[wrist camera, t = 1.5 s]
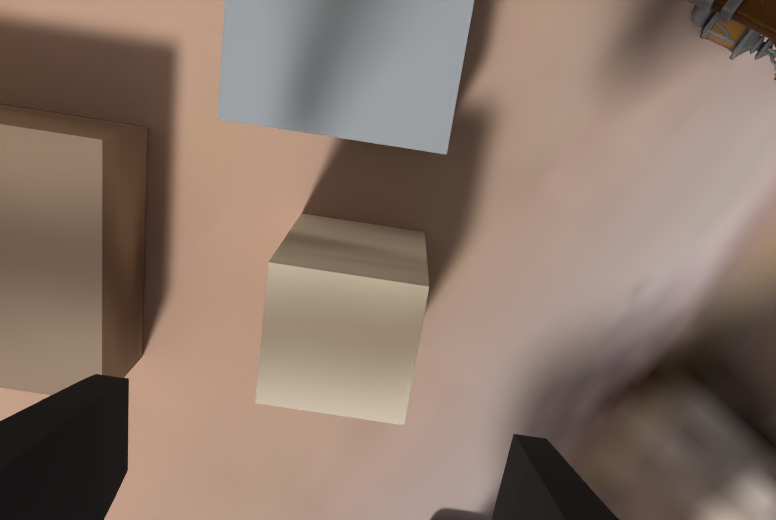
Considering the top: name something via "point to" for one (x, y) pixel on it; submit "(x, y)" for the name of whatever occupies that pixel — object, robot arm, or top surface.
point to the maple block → (343, 319)
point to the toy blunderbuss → (738, 25)
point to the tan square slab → (70, 248)
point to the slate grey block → (346, 68)
